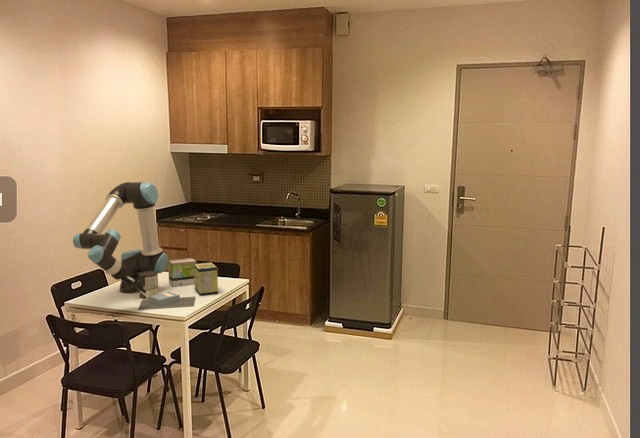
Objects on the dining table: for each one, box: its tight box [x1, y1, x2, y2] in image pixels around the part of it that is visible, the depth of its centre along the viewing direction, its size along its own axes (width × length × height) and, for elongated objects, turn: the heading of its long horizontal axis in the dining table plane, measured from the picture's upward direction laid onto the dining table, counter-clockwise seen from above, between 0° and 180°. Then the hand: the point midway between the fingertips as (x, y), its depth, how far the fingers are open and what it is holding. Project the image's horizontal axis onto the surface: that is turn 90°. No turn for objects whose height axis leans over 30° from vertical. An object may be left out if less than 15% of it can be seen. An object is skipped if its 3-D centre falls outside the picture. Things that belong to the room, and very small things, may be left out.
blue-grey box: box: [150, 291, 181, 306], centre depth 268 cm, size 4×10×12 cm
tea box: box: [167, 257, 198, 288], centre depth 306 cm, size 15×10×15 cm, turn 120°
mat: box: [137, 296, 196, 311], centre depth 266 cm, size 18×28×1 cm, turn 102°
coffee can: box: [138, 271, 159, 300], centre depth 278 cm, size 10×10×14 cm
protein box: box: [194, 261, 219, 297], centre depth 289 cm, size 10×16×16 cm
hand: (148, 295), depth 260 cm, fingers closed
